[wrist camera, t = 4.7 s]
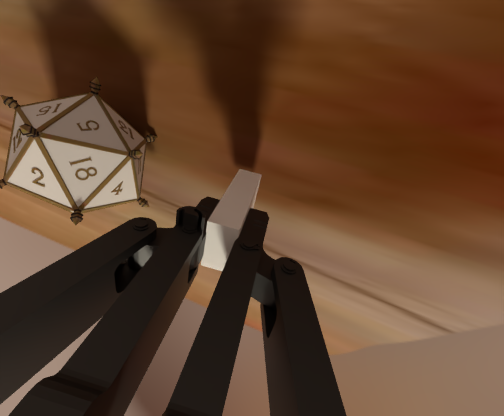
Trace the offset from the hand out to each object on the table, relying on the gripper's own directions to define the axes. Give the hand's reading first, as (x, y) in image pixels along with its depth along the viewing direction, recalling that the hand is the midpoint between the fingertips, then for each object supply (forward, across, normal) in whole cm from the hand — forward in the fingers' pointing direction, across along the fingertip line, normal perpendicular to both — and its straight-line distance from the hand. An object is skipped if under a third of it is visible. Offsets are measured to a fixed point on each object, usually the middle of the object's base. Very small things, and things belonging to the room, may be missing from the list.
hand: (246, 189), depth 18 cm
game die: (+2, -10, 0) cm, 11 cm away
